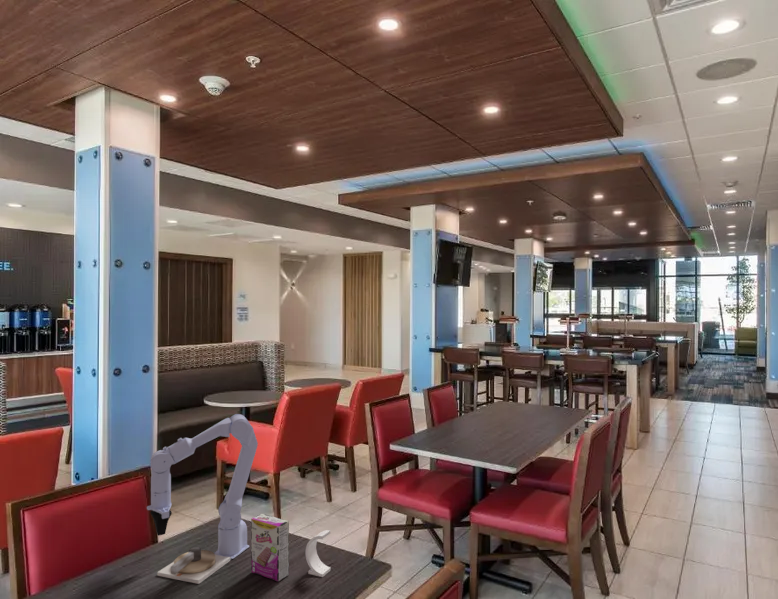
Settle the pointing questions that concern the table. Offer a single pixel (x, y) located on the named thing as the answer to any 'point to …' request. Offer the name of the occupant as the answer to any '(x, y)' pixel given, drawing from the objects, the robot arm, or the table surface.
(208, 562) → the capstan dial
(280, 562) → the candy bar box
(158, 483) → the robot arm
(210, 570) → the base plate
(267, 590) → the table surface
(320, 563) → the headphone stand
